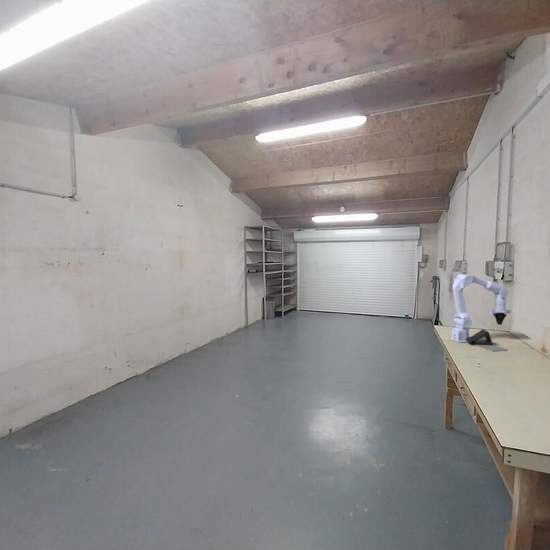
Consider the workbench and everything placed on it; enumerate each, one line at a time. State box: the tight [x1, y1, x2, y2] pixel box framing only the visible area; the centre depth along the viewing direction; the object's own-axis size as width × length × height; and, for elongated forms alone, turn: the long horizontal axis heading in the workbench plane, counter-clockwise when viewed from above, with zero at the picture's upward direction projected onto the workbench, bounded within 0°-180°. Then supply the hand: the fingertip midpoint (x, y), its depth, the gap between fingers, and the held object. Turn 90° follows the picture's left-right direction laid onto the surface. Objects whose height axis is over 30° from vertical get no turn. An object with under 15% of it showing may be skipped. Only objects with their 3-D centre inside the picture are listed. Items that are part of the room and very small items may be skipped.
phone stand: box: [465, 329, 494, 346], centre depth 183 cm, size 9×6×12 cm
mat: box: [474, 344, 509, 353], centre depth 177 cm, size 10×15×1 cm, turn 9°
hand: (499, 324), depth 191 cm, fingers closed
